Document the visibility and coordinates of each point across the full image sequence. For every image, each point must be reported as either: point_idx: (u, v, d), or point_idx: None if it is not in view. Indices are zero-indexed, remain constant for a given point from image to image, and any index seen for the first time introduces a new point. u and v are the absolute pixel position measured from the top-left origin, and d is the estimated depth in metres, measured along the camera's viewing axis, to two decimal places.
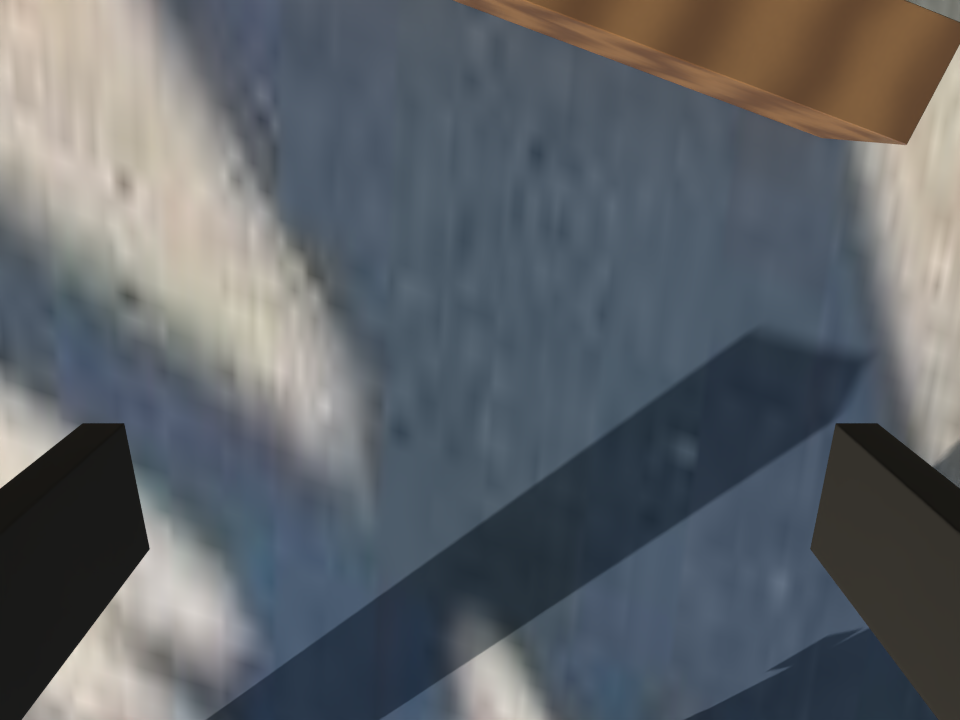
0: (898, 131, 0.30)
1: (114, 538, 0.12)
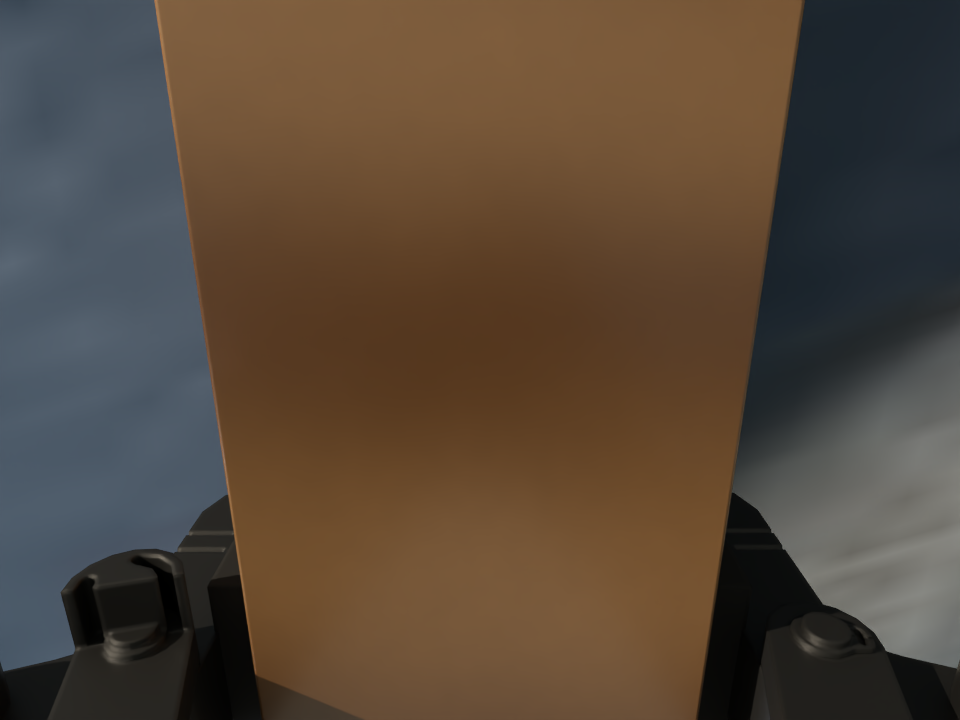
0: None
1: None
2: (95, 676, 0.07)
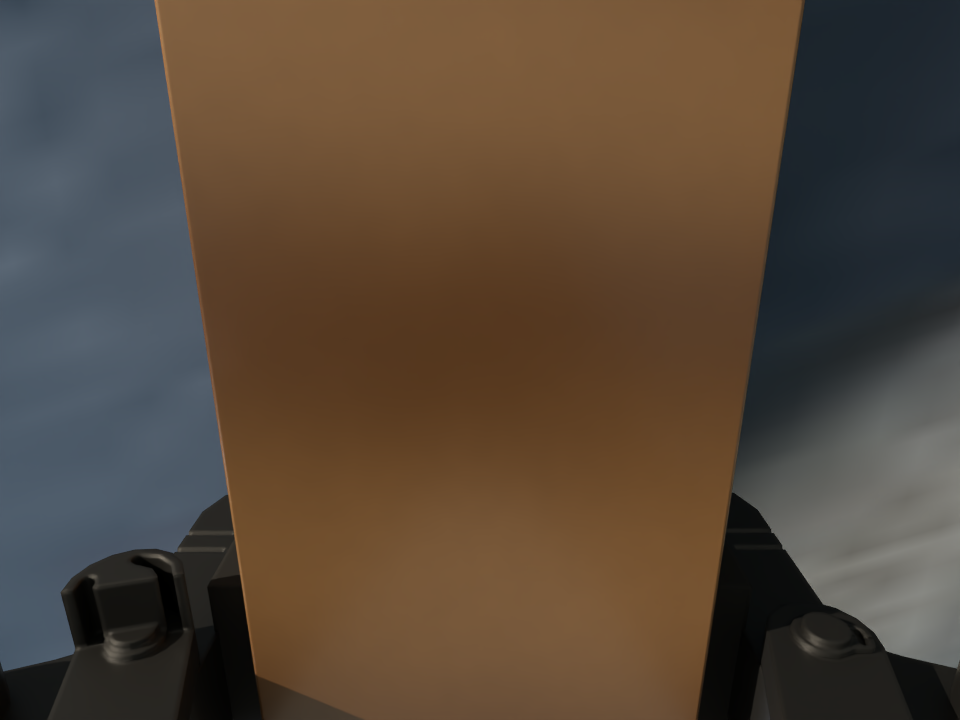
0: None
1: None
2: (95, 676, 0.07)
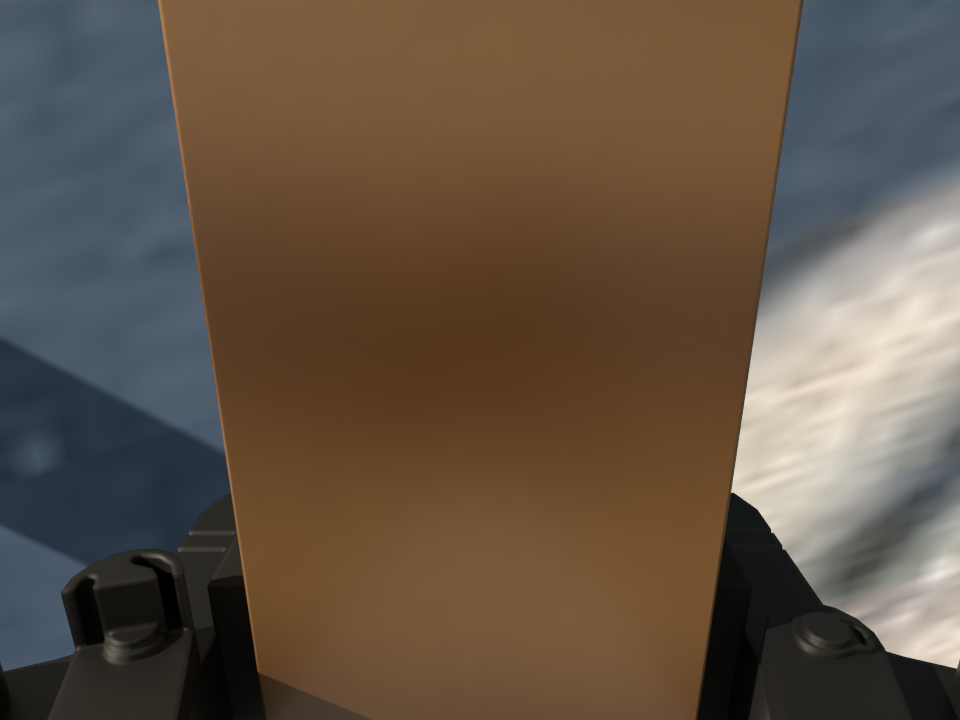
0: None
1: None
2: (95, 676, 0.07)
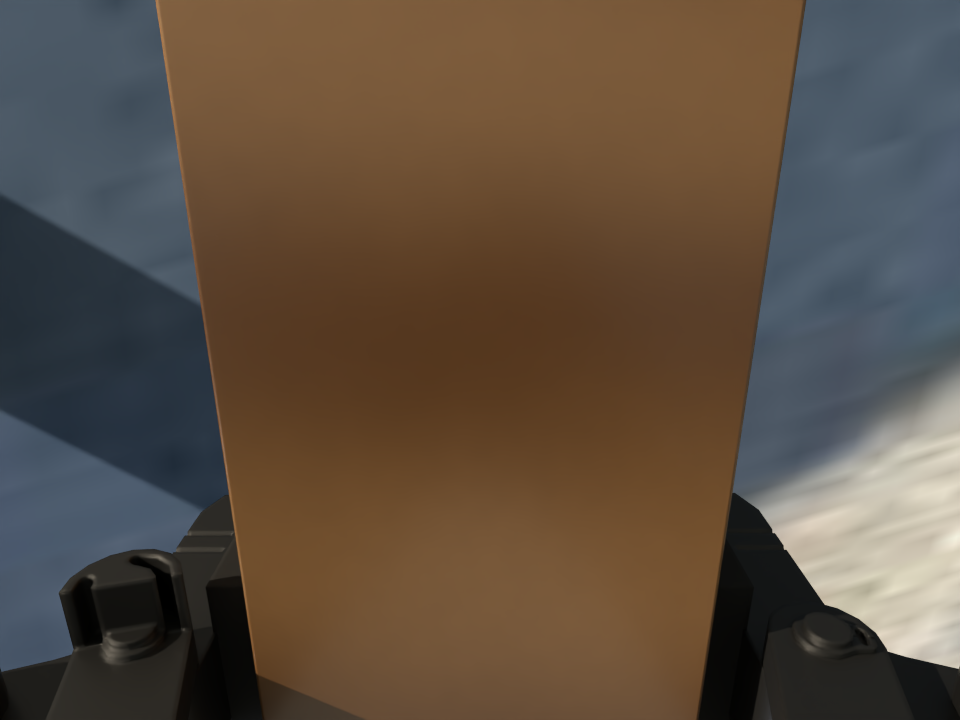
0: None
1: None
2: (93, 677, 0.07)
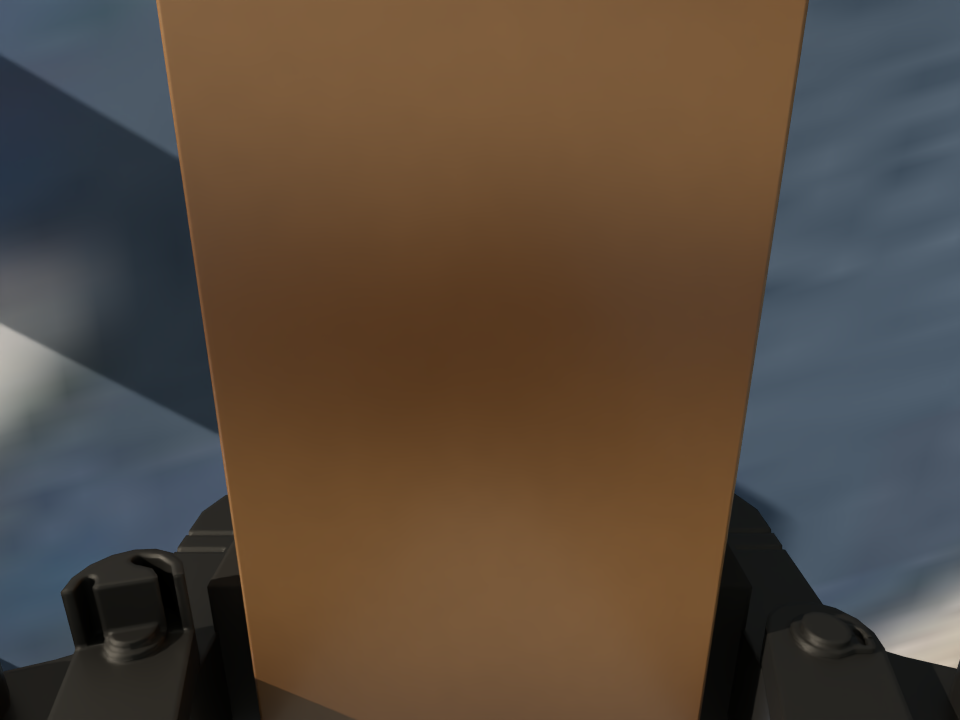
0: None
1: None
2: (95, 676, 0.07)
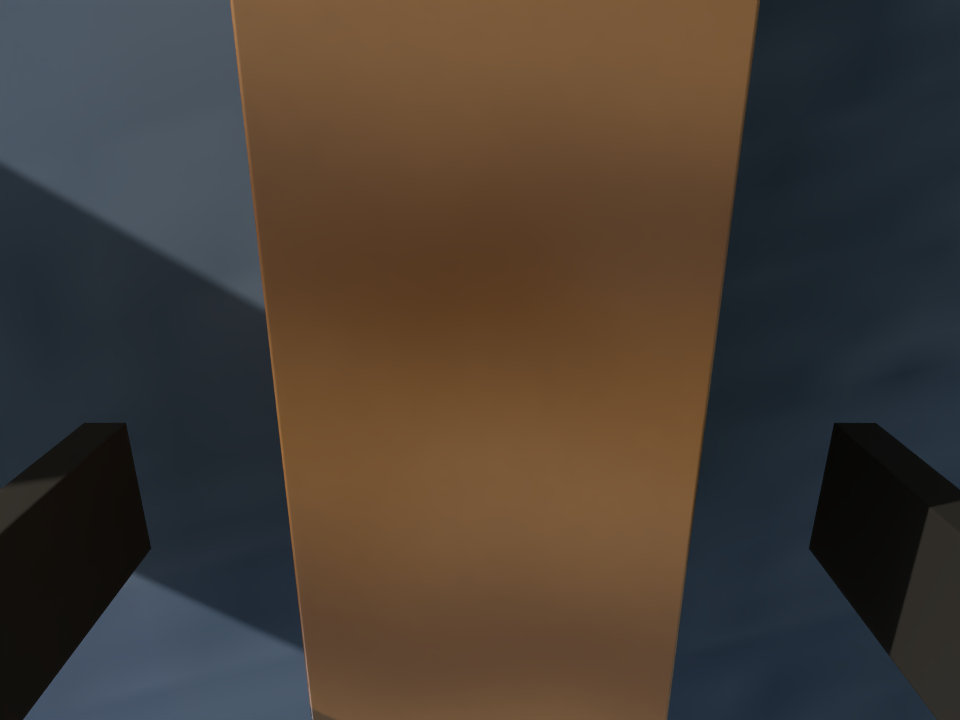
0: None
1: (116, 538, 0.12)
2: None
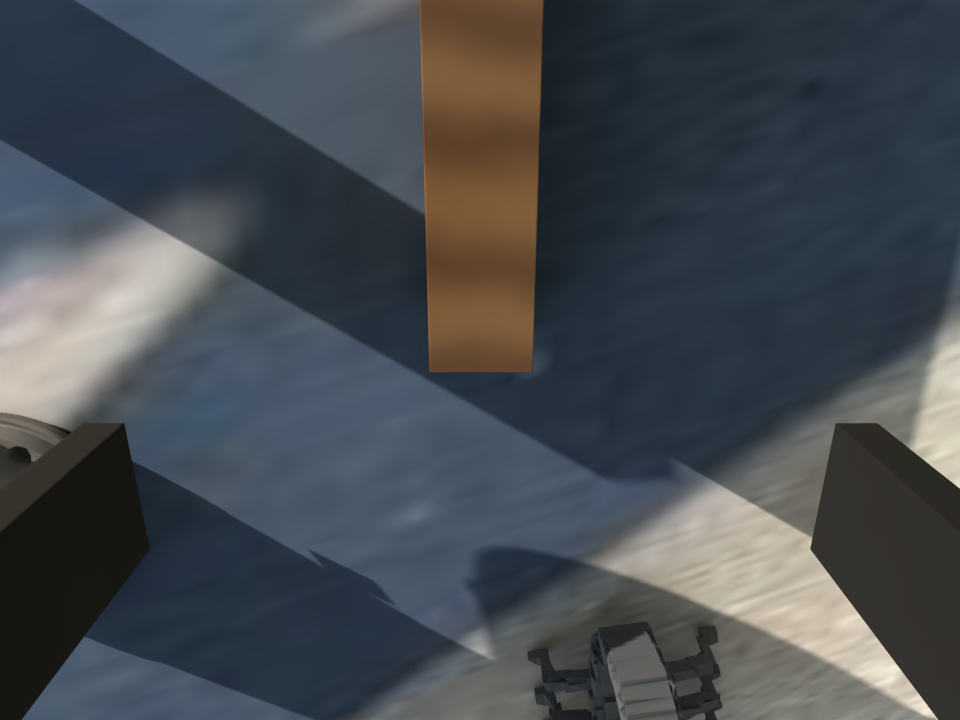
0: (437, 360, 0.33)
1: (114, 538, 0.12)
2: None
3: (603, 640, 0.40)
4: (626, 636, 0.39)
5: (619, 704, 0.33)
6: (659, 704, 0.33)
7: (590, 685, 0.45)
